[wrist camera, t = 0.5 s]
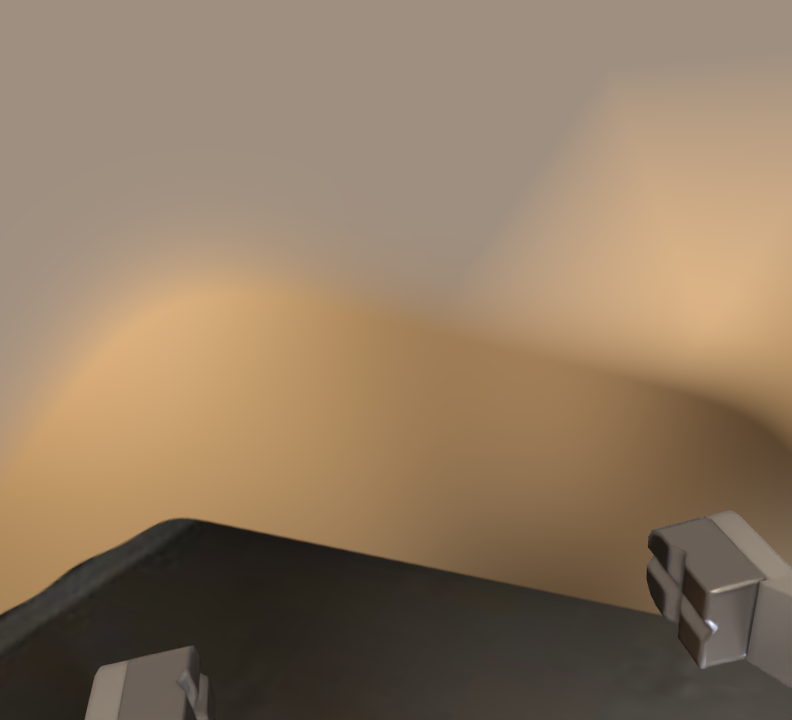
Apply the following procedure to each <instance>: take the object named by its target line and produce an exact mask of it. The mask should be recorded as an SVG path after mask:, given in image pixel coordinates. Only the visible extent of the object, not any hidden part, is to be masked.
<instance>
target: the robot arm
mask: <svg viewBox="0 0 792 720" xmlns="http://www.w3.org/2000/svg"><path fill="white" fill-rule="evenodd" d="M648 548H649V549H650V550H651V551H652V553H653V554H654V556H653V558H652V559H651V560H650V562H649V563H648V564H647V583H648V587H649V590H650V594H651V596H652V598H653V600H654V602H655V604H656V606H657V608H658V609H659V611H660V612H661V614H662V615H663V617H664V618H666V619H668V620H670V621H672V622H674V623H676V624H678V625H679V632H678V638H679V640H680V641H681V643H682V644H683V645H684V647H685V648H686V650H687V651H688V653H689V654H690V655H691V657H692V658H693V660H694V661H695V662H696V664H697V665H698V667H699V668H700V669H702V668H706V667H710V666H714V665H718V664H723V663H727V662H731V661H735V660H739V659H743V658H747V661H748V662H750V663H752V664H753V665H755V666H756V667H758V668H759V669H761V670H763V671H764V672H766V673H767V674H769V675H770V676H772V677H774V678H775V679H777V680H778V681H780V682H781V683H783V684H785V685H786V686H788V687H789V688H791V689H792V568H791V567H790V566H789V565H788V564H787V563H786V562H785V561H784V560H783V559H782V558H781V557H780V556H779V555H778V554H777V553H776V552H775V551H774V550H773V549H772V548H771V547H770V546H769V545H768V544H767V543H766V542H765V541H764V540H763V539H762V538H761V537H760V536H759V535H758V534H757V533H756V532H755V531H754V530H753V529H752V528H751V527H750V526H749V525H748V524H747V523H746V522H745V521H744V520H743V519H742V518H741V517H740V516H739V515H738V514H737V513H735V512H733V511H731V510H729V511H725V512H721V513H717V514H713V515H709V516H705V517H703V518H697V519H693V520H689V521H685V522H682V523H678V524H674V525H670V526H666V527H662V528H658V529H655V530H652V531H651V533H650V535H649V541H648ZM200 665H201V659H200V656H199V654H198V652H197V650H196V647H195V646H187V647H183V648H178V649H174V650H169V651H165V652H160V653H156V654H151V655H147V656H142V657H138V658H133V659H131V660H127V661H122V662H118V663H113V664H109V665H105V666H101V667H100V668H99V670H98V672H97V673H96V675H95V677H94V681H93V686H92V690H91V694H90V699H89V703H88V707H87V712H86V716H85V720H216V709H215V699H214V695H213V691H212V687H211V684H210V681H209V679H208V677H207V676H205V675H203V674H201V673H200Z"/></svg>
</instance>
